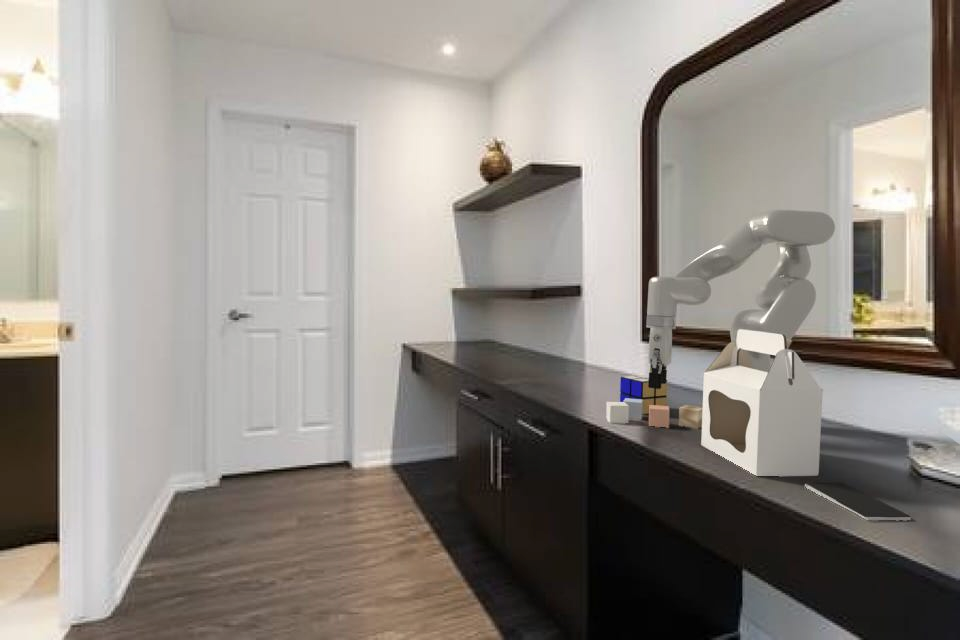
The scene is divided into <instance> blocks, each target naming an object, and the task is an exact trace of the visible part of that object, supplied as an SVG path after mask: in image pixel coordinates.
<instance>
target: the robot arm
mask: <svg viewBox="0 0 960 640" xmlns="http://www.w3.org/2000/svg"><path fill="white" fill-rule="evenodd" d="M835 231H836V225H835V221H834V220H833V218H832V217H831V216H830V215H829V214H827V213H825V212H822V211H813V210H811V211H810V210H808V211H807V210H791V209H774V210H773V209H772V210H769V211H764V212H760V213H759V212H758V213H755V214H752V215H750V216H748V217H747V218H746V219H745V220H743V221H742V222H741V223H740V224H739V225H737V227H736V228H734V229H733V230H731V232H730V233H729V234H728V235H727V236H725V237H724V238H723V239H721V241H720V242H718V244H717V245H716V244H715V246H714V247H713V248H711V249H709V250H707V251H706V252H704V253H703V254H702V255H699V256H698V257H697V258H695V259H694V260H692V261H691V262H689V263H688V264H686V265H685V266H684V267H683V268H682V269H681V270H679V271H678V272H677V273H676V274H674V276H653V277H651V278H650V279H649V281H648V291H647V307H646V313H647V315H646V326H645V327H646V328H649V330H650V331H649V338H648V339H649V343H648V364H649V372H648V376H649V382H648V387H649V388H655V389H660V388H661V384H665V383H666V380H667V376H668V375H667V373H668V372H667V371H668V370H667V366H669V365H670V364H671V363H672V353H673V352H672V347H673V331H672V330H676V327H677V313H678V312H677V310H678V309H677V308H678V305H682V306H698V305H699V306H700V305H702V304H704V303H706V302H707V301H708V300H709V299H710V297H711V295H712V288H711V285H710V284H709V282H710V281H711V280H714V279H716V278H718V277H721V276H724V275H728V274H730V273H733V272H734V271H736V270H738V269H740V268H741V267H742V266H743V265H744V264H745V263H747V261H749V260H750V259H751V258H752V257H753V256H754V255H755V254H757V252H759V251H760V250H761V249H762V248H764V246H766V245H767V244H772V243H773V244H774V243H776V247H777V252H778V255H777V260H776V262H775V263H774V266H773V267H772V269H771V270H770V271H769V273H768V275H767V276H766V277H765V278H764V280H763V282H762V283H761V284H760V286H759V288H758V289H757V291H756V293H755V304H756V305H757V306H758V307H759V308H760V309H752V308H751V309H743V310H741V311H739V312H737V313H736V314H735V315H734V316H733V317H732V319H731V321H730V324H729V333H730V334H729V335H730V340H731V341H730V342H732V341H736V338H737V332H738V330H739V329H745V330H753V331H761V332H769V333H777V334H784V335H785V337H786V339H787V340H792V338H793V337H794V336H795V335H796V333H797V332H798V330H799V329H800V327H801V325H802V324H803V323H804V322H805V320H806V319H807V317H808V315H809V314H810V312H811V311H812V309H813V308H814V305H815V303H816V300H817V290H816V288H815V285H814V284H813V283H812V282H811V281H810V280H809V279H807V277H808V276H809V273H810V271H811V267H812V263H811V262H812V261H811V255H810V253H809V250H808V247H809V246H818V245H821V244H822V245H823V244H825V243H826V242H828V241H830V240H831V238H832V237H833V235H834V233H835ZM747 352H748V354H749V357H750V359H751V362H752V364H753V366H754V369H756V370H760V371H764V372H769V370H770V367H771V365H772V363H771V362H772V361H771V355H770V354H764V353H759V352H754V351H749V350H747ZM731 365H733V364H731Z"/></svg>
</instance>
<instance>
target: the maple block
mask: <svg viewBox="0 0 960 640" xmlns="http://www.w3.org/2000/svg"><path fill="white" fill-rule="evenodd" d="M678 409H679V410H678V426H679V427H683V426H685V427H684V428H689V427H690V429H695V430H698V429H700V428H702V411H703V406H696V405H689V404H686V405H682V406H680V407H679V408H678Z"/></svg>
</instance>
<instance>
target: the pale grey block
mask: <svg viewBox="0 0 960 640" xmlns="http://www.w3.org/2000/svg"><path fill="white" fill-rule="evenodd" d="M605 412H606V413H605V415H606V416H605V417H606V418H607V419H606V418H605V419H606V420H607V422H608V423H609V422H610V423H609V424H625V423H628V424H629V419H628V416H629V406H628V405H627V404H626V403H625V402H620V401H606V410H605Z"/></svg>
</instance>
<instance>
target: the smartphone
mask: <svg viewBox="0 0 960 640" xmlns="http://www.w3.org/2000/svg"><path fill="white" fill-rule="evenodd" d="M805 487H806V488H807V489H806V488H805ZM804 488H805V489H806V490H808V489H809V490H808V491H810V490H811V491H813V492H815V493H816V494H818V495H820V496H823V497H824V498H827V499H828V500H830V501H832V502H834V503H836V504H838V505H840V506H842V507H844V508H846V509H848V510H850V511H852V512H854V513H856V514H858V515H859V516H861V517H862V518H864V519H866V520H896V521H895V522H897V521H898V522H900V521H899V520H903V521H906V522H908V521H907V520H910V521H911V520H912V519H911V518H912V516H911V515H910V514H907V513H905V512H903V511H901V510H899V509H897V508H895V507H893V506H891V505H889V504H887V503H885V502H883V501H881V500H879V499H877V498H875V497H873V496H871V495H870V494H867V493H865V492H863V491H861V490H859V489H857V488H855V487H853V486H851V485H849V484H847V483H846V482H839V481H838V482H805V483H804ZM811 491H810V492H811ZM816 494H815V495H816ZM818 495H817V496H818ZM820 496H819V497H820ZM824 498H823V499H824ZM828 500H827V501H828ZM830 501H829V502H830ZM832 502H831V503H832ZM834 503H833V504H834ZM903 521H902V522H903Z"/></svg>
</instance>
